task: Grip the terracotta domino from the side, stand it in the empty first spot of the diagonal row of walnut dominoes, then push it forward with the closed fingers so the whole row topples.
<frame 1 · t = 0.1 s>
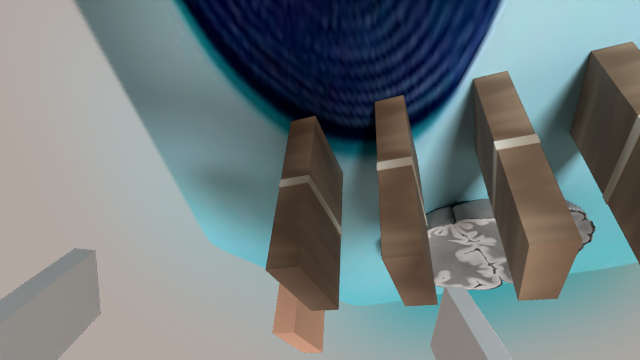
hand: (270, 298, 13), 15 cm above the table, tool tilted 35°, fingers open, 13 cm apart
domino 5: (597, 93, 23), on the table
domino 2: (318, 149, 29), on the table
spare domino: (310, 229, 39), on the table
brain slice: (478, 232, 38), on the table
domino 4: (489, 114, 25), on the table
domino 3: (397, 133, 27), on the table
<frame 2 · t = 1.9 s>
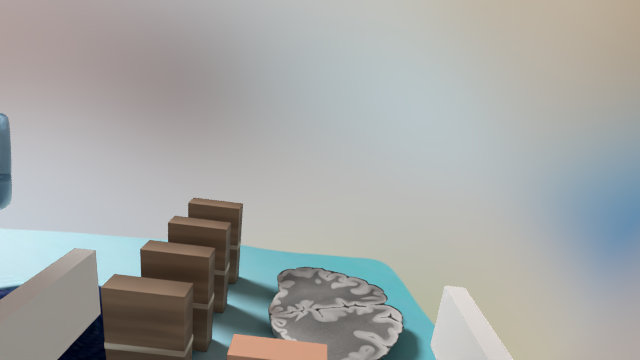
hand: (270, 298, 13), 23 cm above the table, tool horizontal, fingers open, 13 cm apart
domino 5: (213, 277, 52), on the table
brain slice: (331, 328, 46), on the table
domino 4: (198, 305, 46), on the table
domino 3: (178, 341, 40), on the table
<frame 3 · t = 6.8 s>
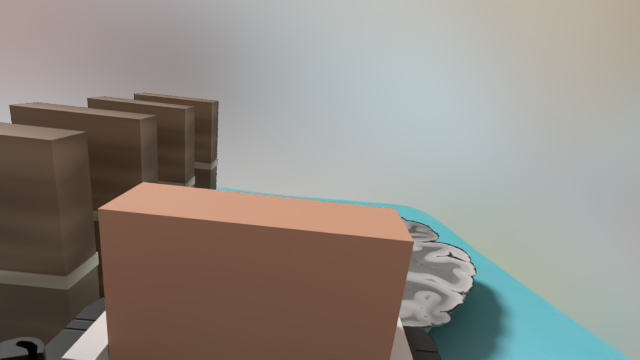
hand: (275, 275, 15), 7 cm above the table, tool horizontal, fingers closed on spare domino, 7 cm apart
domino 5: (178, 217, 36), on the table
brain slice: (357, 278, 29), on the table
domino 4: (147, 246, 30), on the table
domino 3: (101, 292, 23), on the table
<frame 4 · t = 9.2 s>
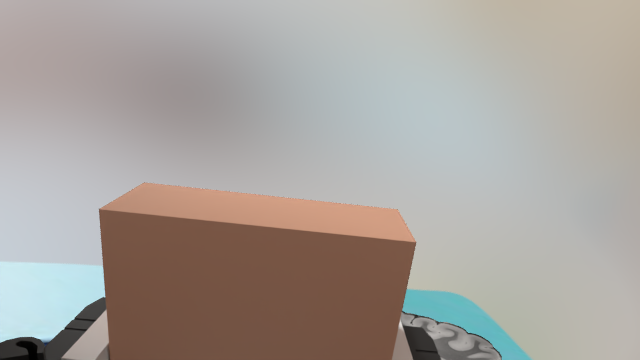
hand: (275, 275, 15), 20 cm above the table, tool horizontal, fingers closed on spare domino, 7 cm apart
when the fingers open (8 cm above the table, at t = 12.1 s): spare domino stays where it is, on the table.
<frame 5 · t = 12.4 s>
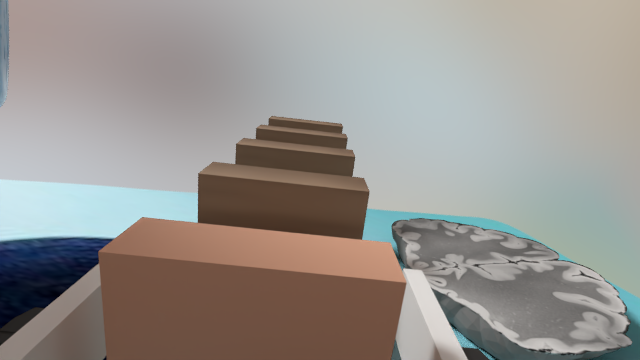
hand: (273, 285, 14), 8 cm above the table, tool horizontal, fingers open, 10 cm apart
domino 5: (295, 233, 37), on the table
brain slice: (489, 295, 31), on the table
domino 4: (289, 265, 31), on the table
domino 3: (281, 312, 25), on the table
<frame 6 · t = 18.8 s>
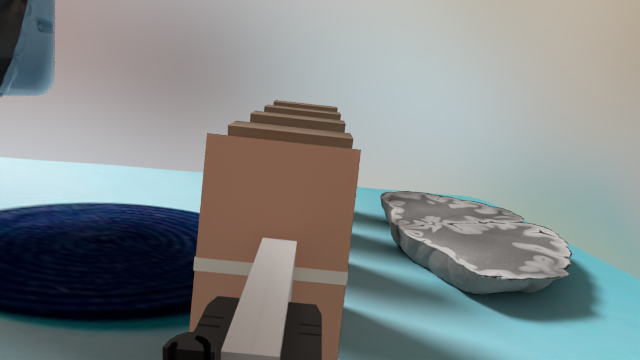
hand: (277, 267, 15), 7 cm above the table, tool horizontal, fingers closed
domino 5: (296, 204, 42), on the table
domino 2: (277, 304, 24), on the table
brain slice: (463, 251, 36), on the table
domino 4: (292, 226, 36), on the table
domino 3: (286, 257, 30), on the table
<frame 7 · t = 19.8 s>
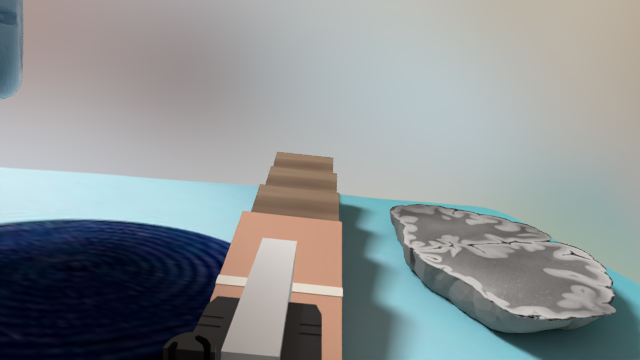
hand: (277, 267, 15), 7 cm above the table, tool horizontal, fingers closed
domino 2: (279, 316, 21), point 1 cm above the table, tilted 72°, touching domino 3, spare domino
brain slice: (483, 274, 32), on the table
domino 4: (295, 226, 34), point 1 cm above the table, tilted 72°, touching domino 3, domino 5
domino 3: (289, 262, 28), point 1 cm above the table, tilted 72°, touching domino 2, domino 4
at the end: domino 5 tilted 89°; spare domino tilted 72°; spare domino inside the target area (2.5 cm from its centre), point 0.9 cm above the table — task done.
